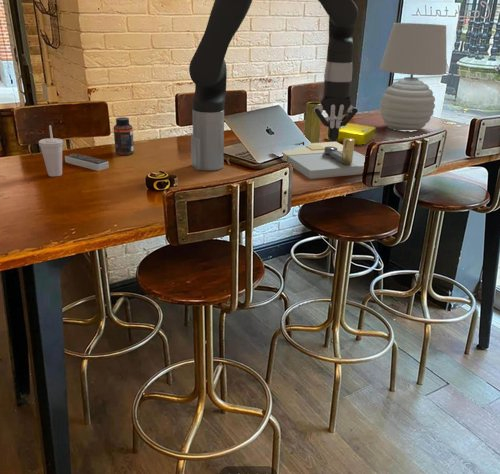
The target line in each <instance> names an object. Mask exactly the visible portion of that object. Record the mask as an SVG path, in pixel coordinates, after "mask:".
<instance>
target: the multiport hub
mask: <svg viewBox="0 0 500 474" xmlns="http://www.w3.org/2000/svg"><path fill="white" fill-rule="evenodd" d="M64 160H65V161H64V162H65V163H67V164H70V165H75V166H78V167H82V168H85V169H86V168H87V169H90V170H93V171H98V172H99V171H102V170H106V169H109V168H110V167H109V165H110V164H109V161H108V160H104V159H100V158H96V157H94V156H93V157H92V156H88V155H84V154H80V153H77V152H75V153H71V154H68V155H64Z"/></svg>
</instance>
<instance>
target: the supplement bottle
mask: <svg viewBox="0 0 500 474" xmlns="http://www.w3.org/2000/svg"><path fill="white" fill-rule="evenodd" d="M113 138H114V140H113V141H114V149H115V154H117V155H119V156H129V155H133V154H134V153H135V146H134V144H135V143H134V130H133V126H132V125H131V124H130V119H129V118H128V117H123V116H122V117H121V116H120V117H116V118H115V125H113Z"/></svg>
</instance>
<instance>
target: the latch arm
mask: <svg viewBox="0 0 500 474" xmlns="http://www.w3.org/2000/svg"><path fill="white" fill-rule="evenodd" d="M354 143H355V140H354V139H351V138H345V139H344V142H342V145H343V151H342V153H341V152H339V151H338V150H337V148H336V147H325V150H324V154H326V155H330V156H331V157H333V158H335V159H337V160H339V161H340V162H341V163H343V164H352V160H353V151H355V144H354Z"/></svg>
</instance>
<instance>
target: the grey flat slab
mask: <svg viewBox="0 0 500 474" xmlns="http://www.w3.org/2000/svg"><path fill="white" fill-rule="evenodd" d="M325 147H336V148H337V150H338V151H339V152H341V153H342V151H343V143H342V144H341V142H338V141H325V142H319V143H311V145H308V146H304V147H301V148H297V149H294V150H289V151H284V152H282V154H283V158H284V159H285V161H287V163H290V164H292V165H293V167H292V168H293V169H295V170H296V171H298V172H299V173H301V174H302V175H303V176H304V177H306V178H308V179H309V180H312V179H323V178H333V177H344V176H354V175H355V176H356V175H357V176H358V175H363V174H362V173H363V169H364V162H365V155H363V154H361V153H359V152H357V151H356V150H354V151H353V160H352V164H343V163H341V162H340V161H339V160H337V159H335V158H333V157H331V156H330V155H326V154H324V150H325ZM287 163H286V164H287Z"/></svg>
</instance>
